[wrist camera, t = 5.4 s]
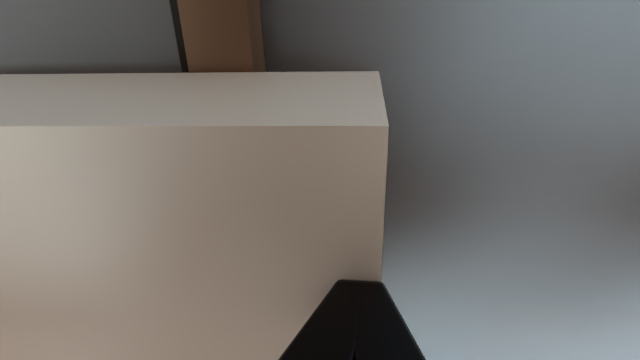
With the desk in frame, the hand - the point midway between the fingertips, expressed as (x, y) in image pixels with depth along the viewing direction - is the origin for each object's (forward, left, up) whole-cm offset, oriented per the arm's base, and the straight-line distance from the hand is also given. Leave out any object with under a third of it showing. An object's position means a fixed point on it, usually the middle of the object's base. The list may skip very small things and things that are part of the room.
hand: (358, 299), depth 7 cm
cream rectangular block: (0, 0, -1) cm, 1 cm away
